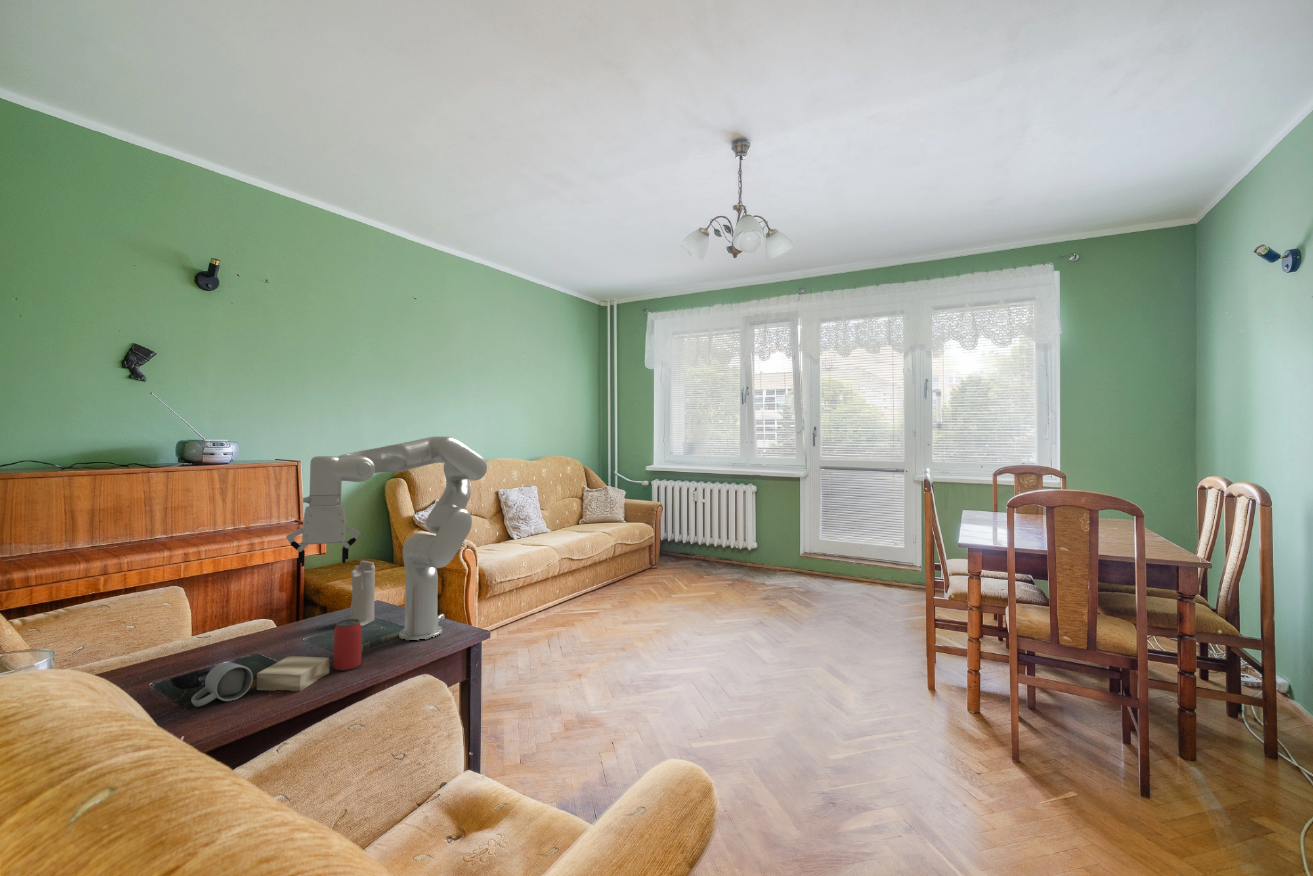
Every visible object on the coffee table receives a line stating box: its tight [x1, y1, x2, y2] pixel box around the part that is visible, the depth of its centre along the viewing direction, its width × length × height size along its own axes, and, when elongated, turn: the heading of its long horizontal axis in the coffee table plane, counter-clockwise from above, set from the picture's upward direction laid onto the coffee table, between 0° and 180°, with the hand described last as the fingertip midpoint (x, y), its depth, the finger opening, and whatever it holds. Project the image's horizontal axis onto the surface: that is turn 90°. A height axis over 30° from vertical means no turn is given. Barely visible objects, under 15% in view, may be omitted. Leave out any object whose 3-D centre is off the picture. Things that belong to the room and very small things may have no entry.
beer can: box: [333, 618, 363, 671], centre depth 151 cm, size 7×7×12 cm
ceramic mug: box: [190, 662, 254, 708], centre depth 132 cm, size 11×8×8 cm
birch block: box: [256, 655, 330, 692], centre depth 141 cm, size 11×11×4 cm
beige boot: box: [349, 560, 376, 627], centre depth 185 cm, size 7×14×20 cm, turn 170°
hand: (323, 563), depth 152 cm, fingers open, 9 cm apart
